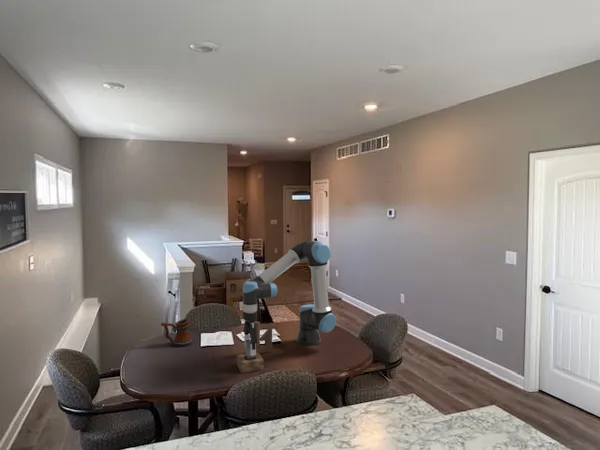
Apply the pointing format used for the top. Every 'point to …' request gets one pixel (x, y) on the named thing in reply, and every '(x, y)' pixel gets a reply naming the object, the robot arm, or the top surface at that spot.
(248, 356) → the peg
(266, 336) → the brown braced frame
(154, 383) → the top surface
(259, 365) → the socket block
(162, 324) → the mug
